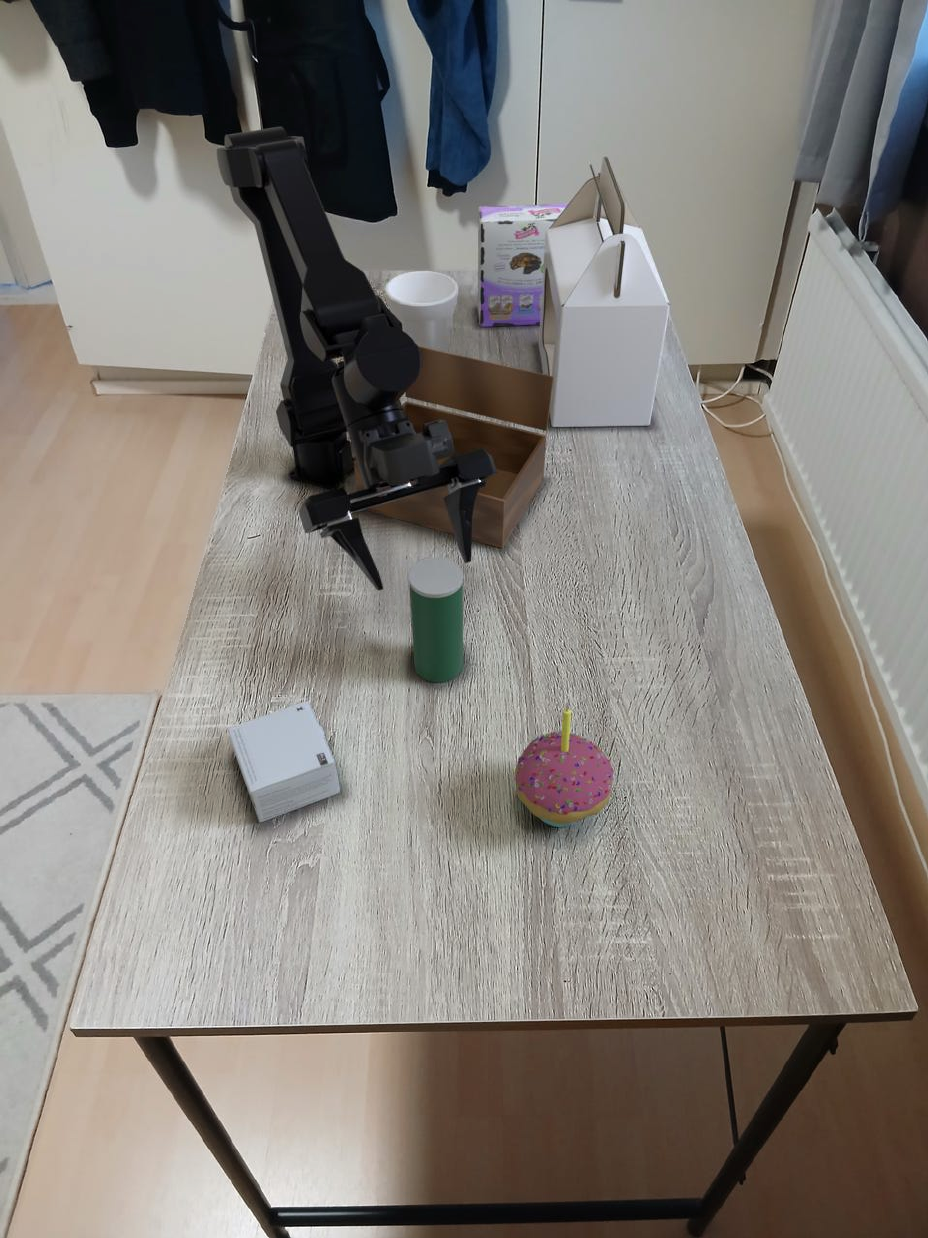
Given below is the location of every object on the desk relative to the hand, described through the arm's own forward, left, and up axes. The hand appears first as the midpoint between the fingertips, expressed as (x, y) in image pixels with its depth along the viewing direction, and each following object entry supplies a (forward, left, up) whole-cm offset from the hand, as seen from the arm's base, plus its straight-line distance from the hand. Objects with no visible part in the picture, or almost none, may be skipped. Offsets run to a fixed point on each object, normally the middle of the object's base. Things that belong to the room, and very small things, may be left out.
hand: (425, 576), depth 89 cm
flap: (-8, +32, +1) cm, 33 cm away
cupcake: (+19, -13, -10) cm, 25 cm away
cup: (-23, +48, -10) cm, 54 cm away
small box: (-5, -20, -10) cm, 23 cm away
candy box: (-16, +69, -10) cm, 72 cm away
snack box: (-8, +24, -10) cm, 27 cm away
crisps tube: (+2, -2, -10) cm, 10 cm away
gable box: (0, +55, -10) cm, 56 cm away
